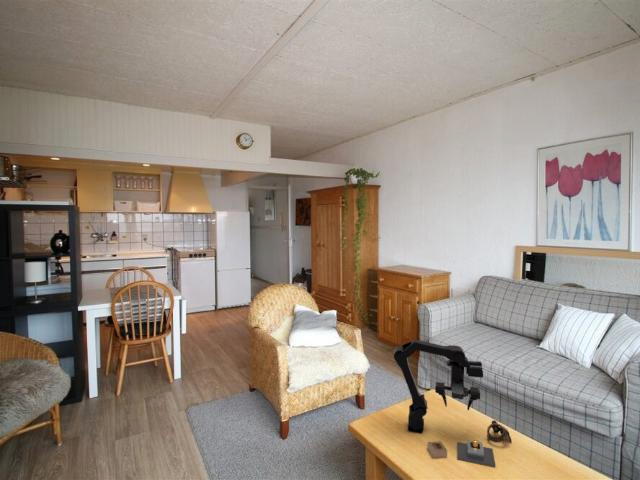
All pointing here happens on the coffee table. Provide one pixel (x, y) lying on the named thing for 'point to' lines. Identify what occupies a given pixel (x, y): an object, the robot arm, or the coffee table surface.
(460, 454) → the keeper
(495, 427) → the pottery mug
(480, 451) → the grey square frame
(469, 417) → the coffee table surface
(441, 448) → the brown hollow square block
